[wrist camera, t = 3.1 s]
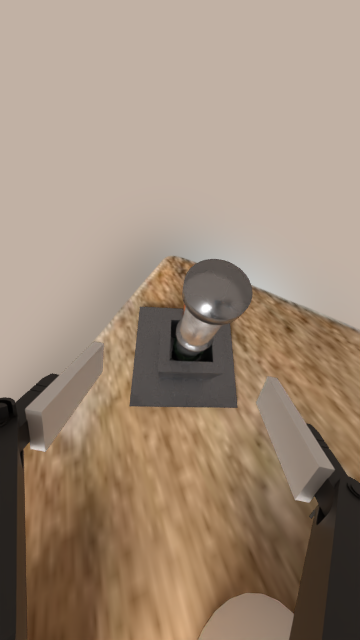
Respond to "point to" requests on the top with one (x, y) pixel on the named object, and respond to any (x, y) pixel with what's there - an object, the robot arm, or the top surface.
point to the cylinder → (249, 619)
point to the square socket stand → (180, 366)
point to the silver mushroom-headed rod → (209, 305)
